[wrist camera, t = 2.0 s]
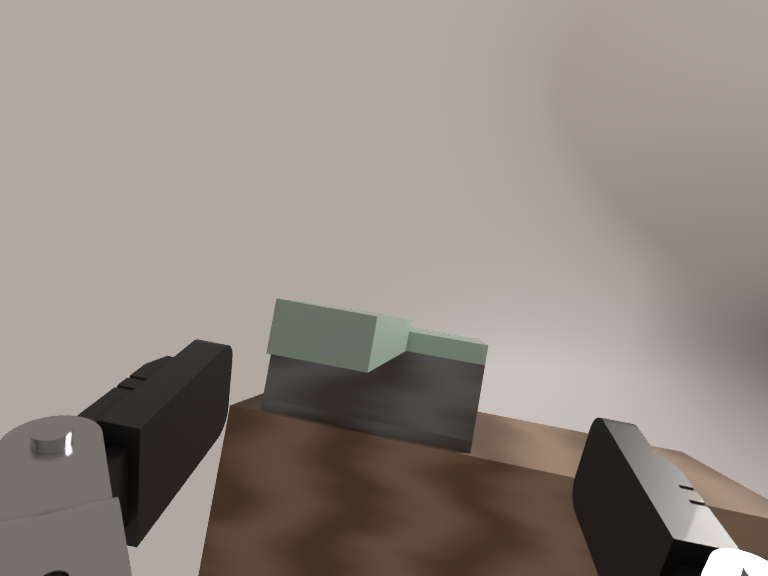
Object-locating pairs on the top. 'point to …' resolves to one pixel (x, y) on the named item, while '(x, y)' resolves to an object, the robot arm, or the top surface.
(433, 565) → the cabinet
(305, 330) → the green t-shaped block
